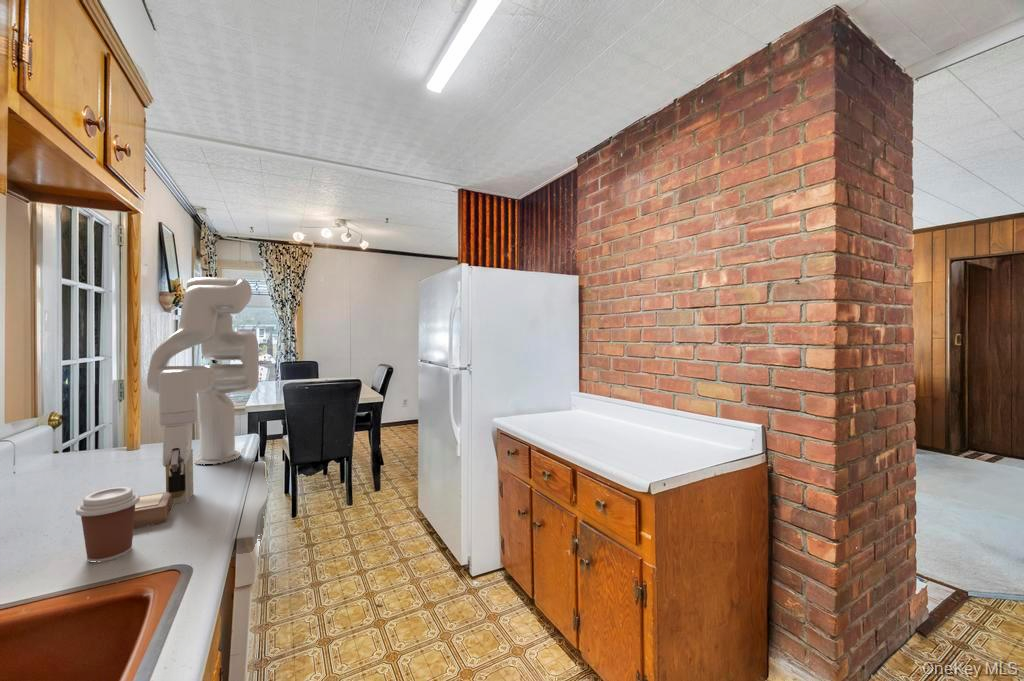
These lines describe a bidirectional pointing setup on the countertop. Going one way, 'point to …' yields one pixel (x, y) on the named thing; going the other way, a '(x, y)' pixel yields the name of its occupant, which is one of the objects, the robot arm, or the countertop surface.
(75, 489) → the countertop surface
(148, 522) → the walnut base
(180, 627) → the countertop surface
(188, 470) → the skincare box
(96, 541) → the coffee cup
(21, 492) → the countertop surface
